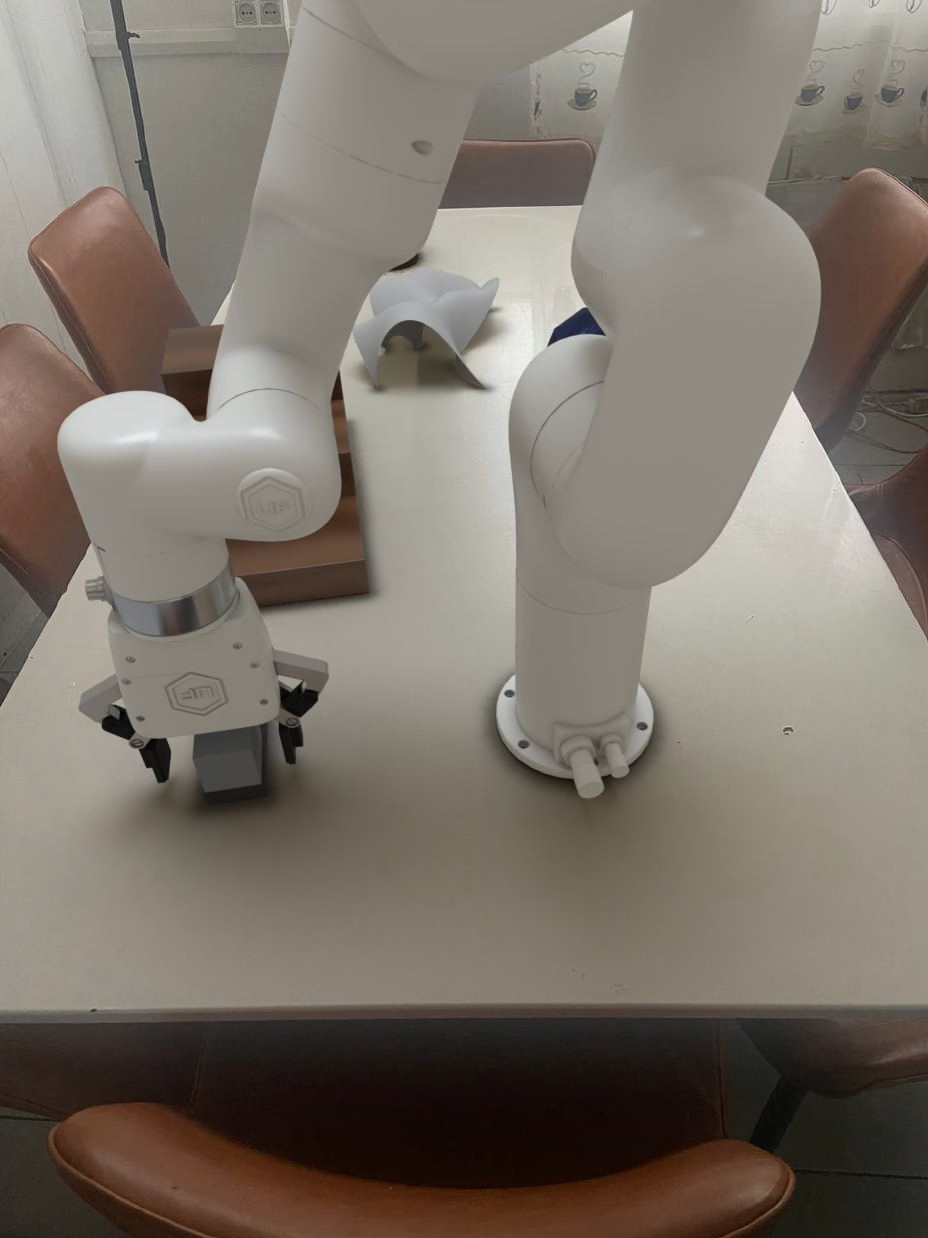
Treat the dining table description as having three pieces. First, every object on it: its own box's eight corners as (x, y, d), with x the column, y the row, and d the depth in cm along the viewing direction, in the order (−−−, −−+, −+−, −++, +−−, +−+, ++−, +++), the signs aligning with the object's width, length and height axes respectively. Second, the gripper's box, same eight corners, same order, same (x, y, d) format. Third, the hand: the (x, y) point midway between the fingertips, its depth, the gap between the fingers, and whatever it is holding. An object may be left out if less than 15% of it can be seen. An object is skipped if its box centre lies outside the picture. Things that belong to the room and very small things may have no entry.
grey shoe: (266, 796, 68) (252, 749, 64) (208, 805, 67) (190, 759, 64) (266, 718, 74) (253, 672, 70) (212, 726, 73) (197, 680, 70)
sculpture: (376, 311, 135) (369, 245, 128) (501, 309, 133) (500, 242, 127) (350, 389, 116) (341, 317, 110) (495, 389, 115) (494, 315, 108)
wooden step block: (369, 592, 85) (352, 467, 76) (178, 617, 84) (136, 493, 74) (347, 423, 110) (331, 312, 100) (199, 440, 108) (169, 329, 99)
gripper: (21, 644, 53) (105, 816, 64) (313, 607, 55) (345, 781, 66) (44, 566, 58) (118, 738, 70) (309, 536, 60) (339, 708, 72)
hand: (228, 759), depth 68 cm, fingers open, 9 cm apart
